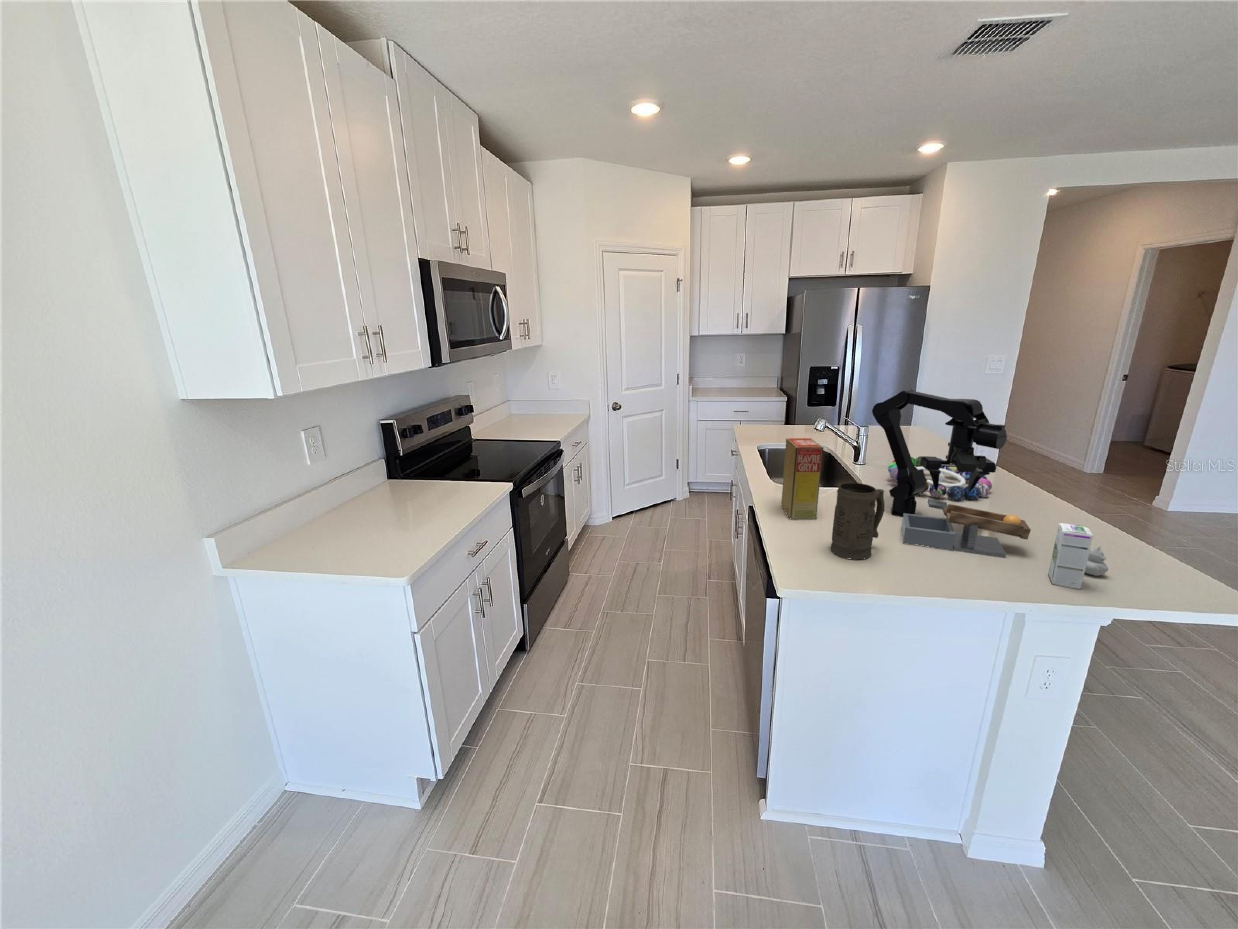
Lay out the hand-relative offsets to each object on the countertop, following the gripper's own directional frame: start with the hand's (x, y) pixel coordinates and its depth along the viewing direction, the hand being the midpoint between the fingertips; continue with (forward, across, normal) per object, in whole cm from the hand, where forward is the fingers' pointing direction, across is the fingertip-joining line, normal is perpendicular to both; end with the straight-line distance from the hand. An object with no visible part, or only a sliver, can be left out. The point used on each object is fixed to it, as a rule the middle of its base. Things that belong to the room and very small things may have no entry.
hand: (952, 490), depth 156 cm
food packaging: (+13, -44, +6) cm, 46 cm away
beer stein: (+12, -31, -22) cm, 40 cm away
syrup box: (+12, +15, -32) cm, 38 cm away
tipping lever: (+6, +3, -9) cm, 11 cm away
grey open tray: (+12, -9, -10) cm, 18 cm away
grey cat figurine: (+12, +24, -26) cm, 37 cm away
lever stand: (+12, +3, -13) cm, 18 cm away
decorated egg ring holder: (+13, +11, +41) cm, 44 cm away
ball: (+3, +10, -15) cm, 18 cm away
